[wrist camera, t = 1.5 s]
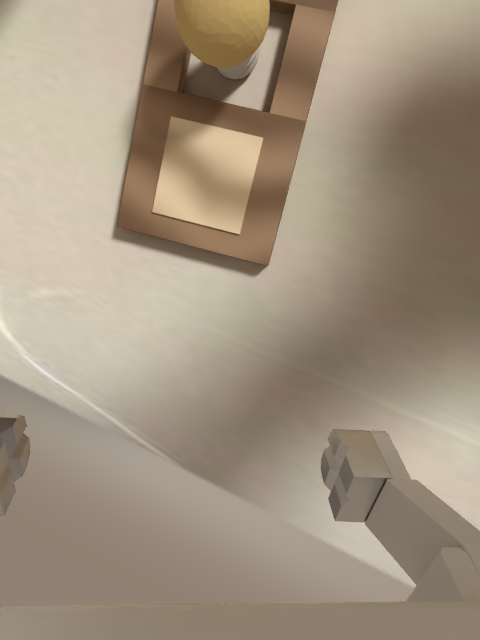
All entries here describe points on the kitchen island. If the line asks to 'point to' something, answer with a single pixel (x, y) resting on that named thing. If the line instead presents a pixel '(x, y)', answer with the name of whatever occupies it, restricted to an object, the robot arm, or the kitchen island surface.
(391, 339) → the kitchen island surface
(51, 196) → the kitchen island surface
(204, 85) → the kitchen island surface
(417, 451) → the kitchen island surface
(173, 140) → the socket board
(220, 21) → the light bulb
